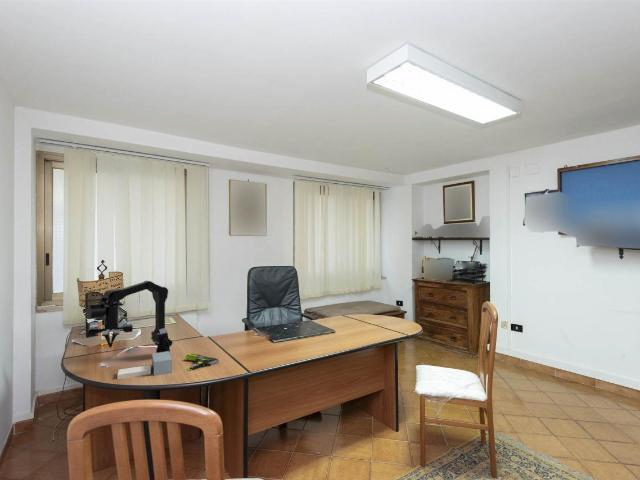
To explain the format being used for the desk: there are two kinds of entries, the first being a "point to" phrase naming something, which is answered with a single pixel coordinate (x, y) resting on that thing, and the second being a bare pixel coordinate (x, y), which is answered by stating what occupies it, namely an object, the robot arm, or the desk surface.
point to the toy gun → (201, 361)
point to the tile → (134, 372)
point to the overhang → (162, 363)
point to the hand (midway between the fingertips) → (110, 347)
